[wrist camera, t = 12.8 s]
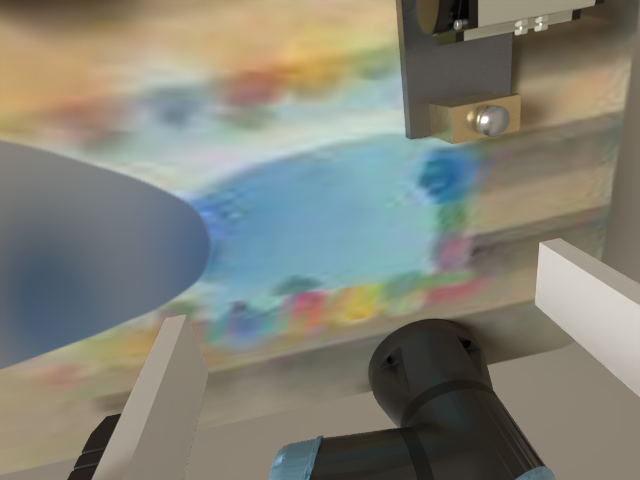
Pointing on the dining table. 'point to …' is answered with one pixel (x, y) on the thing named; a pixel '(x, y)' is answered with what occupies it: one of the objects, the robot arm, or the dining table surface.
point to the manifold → (455, 83)
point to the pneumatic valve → (493, 17)
